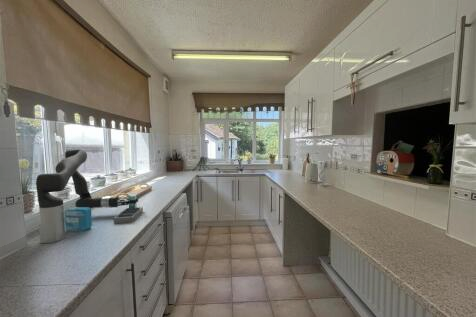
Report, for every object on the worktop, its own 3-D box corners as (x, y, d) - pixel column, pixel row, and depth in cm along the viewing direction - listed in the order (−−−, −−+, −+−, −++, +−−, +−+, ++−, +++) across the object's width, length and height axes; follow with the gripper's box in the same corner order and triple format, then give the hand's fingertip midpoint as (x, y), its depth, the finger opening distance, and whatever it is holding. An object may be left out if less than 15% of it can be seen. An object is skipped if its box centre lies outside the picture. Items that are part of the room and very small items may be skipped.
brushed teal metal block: (135, 210, 151) (134, 195, 151) (128, 210, 151) (128, 196, 150) (136, 208, 155) (136, 194, 154) (130, 209, 154) (130, 194, 154)
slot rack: (132, 222, 136) (132, 216, 135) (113, 223, 134) (113, 217, 134) (142, 211, 157) (142, 206, 157) (127, 212, 156) (126, 207, 156)
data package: (65, 230, 123) (64, 209, 122) (71, 227, 128) (70, 207, 127) (86, 230, 123) (85, 209, 122) (92, 227, 127) (91, 207, 127)
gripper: (105, 199, 143) (133, 198, 146) (114, 194, 157) (140, 193, 159) (105, 210, 144) (133, 209, 146) (114, 204, 158) (140, 203, 160)
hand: (136, 201), depth 153 cm, fingers closed on brushed teal metal block, 3 cm apart
